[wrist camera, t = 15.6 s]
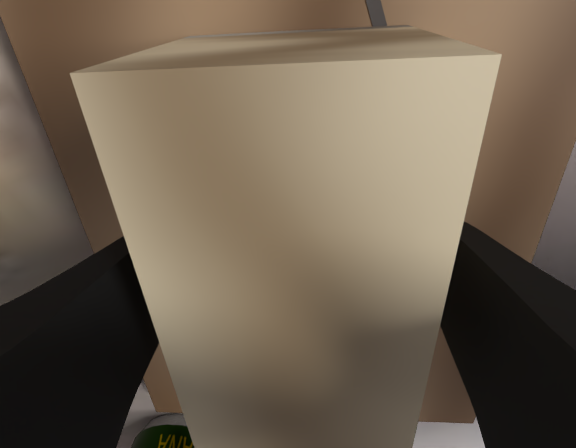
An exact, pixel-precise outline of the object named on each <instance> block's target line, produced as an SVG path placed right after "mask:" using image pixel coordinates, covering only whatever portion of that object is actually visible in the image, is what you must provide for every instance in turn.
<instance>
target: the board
mask: <svg viewBox="0 0 576 448" xmlns="http://www.w3.org/2000/svg"><path fill="white" fill-rule="evenodd" d="M0 17H1V19H2V22H3V24H4V27H5V29H6V32H7V34H8V37H9V39H10V42H11V44H12V47H13V50H14V52H15V55H16V57H17V60H18V62H19V65H20V67H21V70H22V72H23V75H24V77H25V80H26V82H27V85H28V88H29V90H30V93H31V95H32V98H33V100H34V103H35V105H36V108H37V110H38V113H39V115H40V118H41V121H42V123H43V126H44V128H45V131H46V133H47V136H48V138H49V141H50V143H51V146H52V148H53V151H54V153H55V156H56V159H57V161H58V164H59V166H60V169H61V171H62V174H63V176H64V179H65V181H66V184H67V186H68V189H69V192H70V194H71V197H72V199H73V202H74V204H75V207H76V209H77V212H78V214H79V217H80V219H81V222H82V224H83V227H84V230H85V232H86V235H87V237H88V240H89V242H90V245H91V247H92V250H93V252H94V254H95V253H97V252H98V251H100V250H101V249H103V248H105V247H106V246H108V245H110V244H111V243H113V242H114V241H116V240H118V239H119V238H121V237H123V236H124V235H123V232H122V229H121V226H120V223H119V220H118V217H117V214H116V211H115V208H114V205H113V202H112V199H111V196H110V193H109V190H108V187H107V184H106V181H105V178H104V175H103V172H102V169H101V166H100V163H99V160H98V157H97V154H96V151H95V148H94V145H93V142H92V139H91V136H90V133H89V130H88V127H87V124H86V121H85V118H84V115H83V112H82V109H81V106H80V103H79V100H78V97H77V94H76V91H75V88H74V85H73V82H72V79H71V76H70V73H72V72H75V71H78V70H81V69H85V68H88V67H91V66H94V65H98V64H101V63H104V62H107V61H111V60H114V59H117V58H120V57H124V56H127V55H130V54H133V53H136V52H140V51H143V50H146V49H149V48H153V47H156V46H159V45H162V44H166V43H169V42H172V41H175V40H179V39H182V38H185V37H188V36H199V35H218V34H238V33H257V32H277V31H296V30H316V29H336V28H355V27H375V26H394V25H410V26H413V27H416V28H419V29H423V30H426V31H429V32H432V33H435V34H439V35H442V36H445V37H448V38H451V39H455V40H458V41H461V42H464V43H467V44H471V45H474V46H477V47H480V48H483V49H487V50H490V51H493V52H496V53H499V54H502V56H501V60H500V65H499V69H498V73H497V78H496V82H495V87H494V91H493V95H492V100H491V104H490V109H489V113H488V117H487V122H486V126H485V130H484V135H483V139H482V144H481V148H480V152H479V157H478V161H477V166H476V170H475V174H474V179H473V183H472V188H471V192H470V196H469V201H468V205H467V209H466V214H465V218H464V222H467V223H469V224H470V225H472V226H474V227H476V228H477V229H479V230H480V231H482V232H484V233H485V234H487V235H488V236H490V237H491V238H493V239H494V240H496V241H497V242H499V243H500V244H502V245H503V246H505V247H506V248H508V249H509V250H511V251H512V252H514V253H515V254H517V255H518V256H520V257H522V258H523V259H525V260H526V261H528V262H529V263H531V262H532V260H533V257H534V254H535V251H536V249H537V246H538V243H539V240H540V238H541V235H542V232H543V229H544V227H545V224H546V221H547V218H548V216H549V213H550V210H551V207H552V204H553V202H554V199H555V196H556V193H557V191H558V188H559V185H560V182H561V180H562V177H563V174H564V171H565V169H566V166H567V163H568V160H569V158H570V155H571V152H572V149H573V147H574V144H575V141H576V0H0ZM143 379H144V382H145V384H146V387H147V389H148V392H149V394H150V397H151V399H152V402H153V404H154V407H155V410H156V412H171V413H183V412H182V409H181V406H180V403H179V400H178V397H177V394H176V391H175V388H174V385H173V382H172V379H171V376H170V373H169V370H168V367H167V364H166V361H165V358H164V355H163V352H162V349H161V346H160V343H159V345H158V347H157V349H156V351H155V353H154V355H153V357H152V360H151V362H150V364H149V366H148V368H147V370H146V372H145V375H144V377H143ZM475 417H476V415H475V412H474V409H473V406H472V403H471V401H470V398H469V396H468V393H467V391H466V388H465V386H464V383H463V381H462V378H461V376H460V374H459V371H458V369H457V366H456V364H455V361H454V359H453V356H452V354H451V351H450V349H449V347H448V344H447V342H446V339H445V337H444V334H443V331H442V329H441V326H440V328H439V332H438V337H437V341H436V345H435V350H434V354H433V359H432V363H431V367H430V372H429V376H428V380H427V385H426V389H425V394H424V398H423V402H422V407H421V411H420V416H419V420H418V421H421V422H449V423H473V422H474V420H475Z"/></svg>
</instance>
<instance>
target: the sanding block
mask: <svg viewBox="0 0 576 448" xmlns="http://www.w3.org/2000/svg"><path fill="white" fill-rule="evenodd" d="M501 56H502V54H499V53H496V52H493V51H490V50H487V49H483V48H480V47H477V46H474V45H471V44H467V43H464V42H461V41H458V40H455V39H451V38H448V37H445V36H442V35H439V34H435V33H432V32H429V31H426V30H423V29H419V28H416V27H413V26H410V25H394V26H375V27H355V28H336V29H316V30H296V31H277V32H257V33H238V34H218V35H199V36H188V37H185V38H182V39H179V40H175V41H172V42H169V43H166V44H162V45H159V46H156V47H153V48H149V49H146V50H143V51H140V52H136V53H133V54H130V55H127V56H124V57H120V58H117V59H114V60H111V61H107V62H104V63H101V64H98V65H94V66H91V67H88V68H85V69H81V70H78V71H75V72H72V73H70V76H71V79H72V82H73V85H74V88H75V91H76V94H77V97H78V100H79V103H80V106H81V109H82V112H83V115H84V118H85V121H86V124H87V127H88V130H89V133H90V136H91V139H92V142H93V145H94V148H95V151H96V154H97V157H98V160H99V163H100V166H101V169H102V172H103V175H104V178H105V181H106V184H107V187H108V190H109V193H110V196H111V199H112V202H113V205H114V208H115V211H116V214H117V217H118V220H119V223H120V226H121V229H122V232H123V235H124V238H125V241H126V244H127V247H128V250H129V253H130V256H131V259H132V262H133V265H134V268H135V271H136V274H137V277H138V280H139V283H140V286H141V289H142V292H143V295H144V298H145V301H146V304H147V307H148V310H149V313H150V316H151V319H152V322H153V325H154V328H155V331H156V334H157V337H158V340H159V343H160V346H161V349H162V352H163V355H164V358H165V361H166V364H167V367H168V370H169V373H170V376H171V379H172V382H173V385H174V388H175V391H176V394H177V397H178V400H179V403H180V406H181V409H182V412H183V415H184V418H185V421H186V424H187V427H188V430H189V433H190V436H191V439H192V442H193V445H194V448H412V446H413V442H414V438H415V433H416V429H417V424H418V420H419V416H420V411H421V407H422V402H423V398H424V394H425V389H426V385H427V380H428V376H429V372H430V367H431V363H432V359H433V354H434V350H435V345H436V341H437V337H438V332H439V328H440V323H441V319H442V315H443V310H444V306H445V302H446V297H447V293H448V288H449V284H450V280H451V275H452V271H453V266H454V262H455V258H456V253H457V249H458V245H459V240H460V236H461V231H462V227H463V223H464V218H465V214H466V209H467V205H468V201H469V196H470V192H471V188H472V183H473V179H474V174H475V170H476V166H477V161H478V157H479V152H480V148H481V144H482V139H483V135H484V130H485V126H486V122H487V117H488V113H489V109H490V104H491V100H492V95H493V91H494V87H495V82H496V78H497V73H498V69H499V65H500V60H501Z"/></svg>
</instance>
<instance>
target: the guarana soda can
mask: <svg viewBox="0 0 576 448" xmlns="http://www.w3.org/2000/svg"><path fill="white" fill-rule="evenodd" d="M131 448H194V445H193V442H192V439H191V436H190V433H189V430H188V427H187V424H186V421H185V418H184V415H182V414H170V415H163V416H160V417H157V418H155V419H153V420H151V421H150V422H149V424H148V425H147V426H146V427H145V428H144V429H143V430H142V431H141V432H140V433H139V434H138V435H137V436H136V437H135V440H134V442H133V444H132V447H131Z"/></svg>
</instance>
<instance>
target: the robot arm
mask: <svg viewBox="0 0 576 448" xmlns="http://www.w3.org/2000/svg"><path fill="white" fill-rule="evenodd" d="M440 326H441V329H442V331H443V334H444V337H445V339H446V342H447V344H448V347H449V349H450V351H451V354H452V356H453V359H454V361H455V364H456V366H457V369H458V371H459V374H460V376H461V378H462V381H463V383H464V386H465V388H466V391H467V393H468V396H469V398H470V401H471V403H472V406H473V409H474V412H475V415H476V417H477V420H478V424H479V427H480V431H481V434H482V437H483V441H484V444H485V448H576V290H574V289H572V288H571V287H569V286H567V285H565V284H564V283H562V282H560V281H558V280H557V279H555V278H553V277H552V276H550V275H548V274H547V273H545V272H544V271H542V270H540V269H539V268H537V267H536V266H534V265H532V264H531V263H529V262H528V261H526V260H525V259H523V258H522V257H520V256H518V255H517V254H515V253H514V252H512V251H511V250H509V249H508V248H506V247H505V246H503V245H502V244H500V243H499V242H497V241H496V240H494V239H493V238H491V237H490V236H488V235H487V234H485V233H484V232H482V231H480V230H479V229H477V228H476V227H474V226H472V225H470V224H469V223H467V222H464V223H463V227H462V231H461V236H460V240H459V245H458V249H457V253H456V258H455V262H454V266H453V271H452V275H451V280H450V284H449V288H448V293H447V297H446V302H445V306H444V310H443V315H442V319H441V323H440ZM158 345H159V340H158V337H157V334H156V331H155V328H154V325H153V322H152V319H151V316H150V313H149V310H148V307H147V304H146V301H145V298H144V295H143V292H142V289H141V286H140V283H139V280H138V277H137V274H136V271H135V268H134V265H133V262H132V259H131V256H130V253H129V250H128V247H127V244H126V241H125V238H124V236H123V237H121V238H119V239H118V240H116V241H114V242H113V243H111V244H110V245H108V246H106V247H105V248H103V249H101V250H100V251H98V252H97V253H95V254H93V255H92V256H90V257H88V258H87V259H85V260H84V261H82V262H80V263H79V264H77V265H75V266H74V267H72V268H70V269H68V270H67V271H65V272H63V273H61V274H60V275H58V276H56V277H54V278H53V279H51V280H49V281H47V282H46V283H44V284H42V285H41V286H39V287H37V288H35V289H33V290H31V291H30V292H28V293H26V294H24V295H22V296H20V297H18V298H16V299H14V300H12V301H10V302H8V303H6V304H4V305H2V306H0V448H116V446H117V444H118V441H119V438H120V435H121V432H122V429H123V426H124V423H125V421H126V418H127V415H128V412H129V409H130V406H131V404H132V402H133V399H134V397H135V394H136V392H137V390H138V387H139V385H140V383H141V381H142V379H143V377H144V375H145V372H146V370H147V368H148V366H149V364H150V362H151V360H152V357H153V355H154V353H155V351H156V349H157V347H158Z"/></svg>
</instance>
